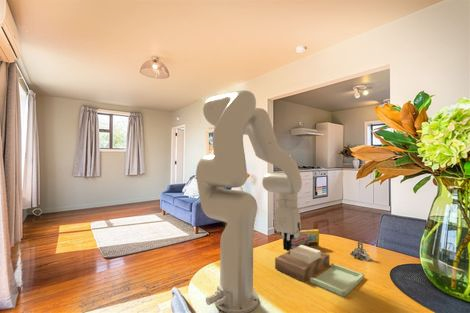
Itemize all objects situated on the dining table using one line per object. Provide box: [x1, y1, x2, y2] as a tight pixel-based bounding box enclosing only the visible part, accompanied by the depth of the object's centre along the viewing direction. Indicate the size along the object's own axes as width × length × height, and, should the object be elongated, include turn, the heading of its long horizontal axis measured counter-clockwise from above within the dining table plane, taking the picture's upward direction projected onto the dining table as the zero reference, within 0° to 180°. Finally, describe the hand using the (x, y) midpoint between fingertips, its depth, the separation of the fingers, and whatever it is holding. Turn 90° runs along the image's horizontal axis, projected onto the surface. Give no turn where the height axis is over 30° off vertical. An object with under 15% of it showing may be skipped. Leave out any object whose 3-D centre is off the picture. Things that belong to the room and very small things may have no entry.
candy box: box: [289, 228, 320, 251], centre depth 104 cm, size 16×2×8 cm, turn 104°
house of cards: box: [349, 240, 372, 262], centre depth 93 cm, size 9×9×8 cm
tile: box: [289, 245, 322, 264], centre depth 85 cm, size 8×8×2 cm
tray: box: [309, 263, 365, 298], centre depth 76 cm, size 16×11×2 cm
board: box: [274, 250, 331, 283], centre depth 86 cm, size 18×12×4 cm, turn 132°
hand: (287, 249), depth 91 cm, fingers closed
